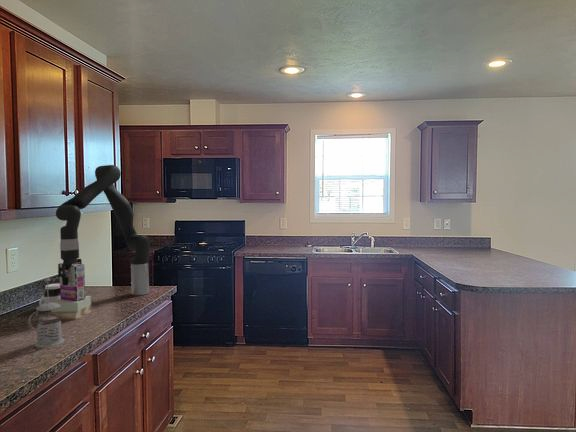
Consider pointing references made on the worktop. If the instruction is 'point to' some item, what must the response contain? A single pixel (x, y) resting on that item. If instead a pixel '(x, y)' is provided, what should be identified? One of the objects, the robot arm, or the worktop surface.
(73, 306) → the sage block
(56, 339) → the french press
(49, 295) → the spread jar
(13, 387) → the worktop surface
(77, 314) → the maple block
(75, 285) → the candy bar box
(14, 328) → the worktop surface
